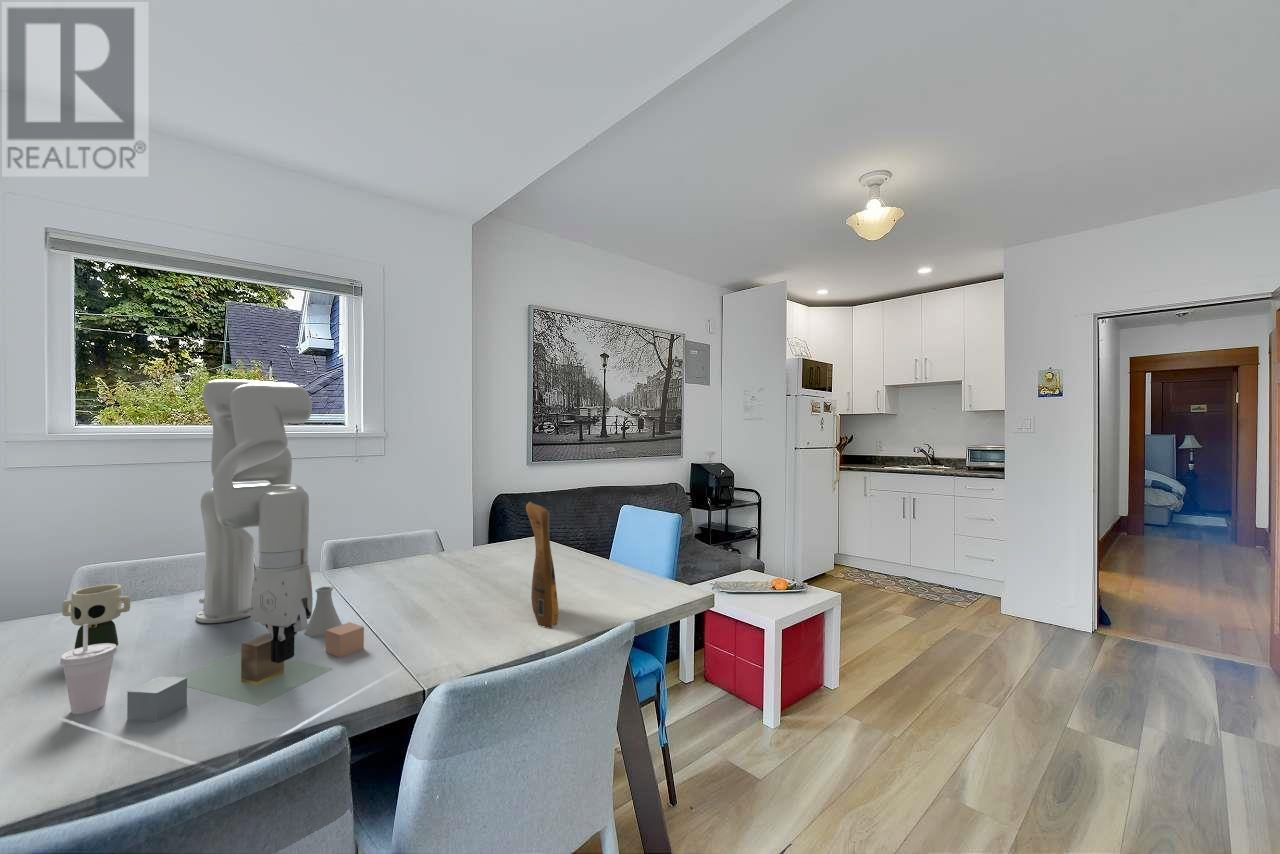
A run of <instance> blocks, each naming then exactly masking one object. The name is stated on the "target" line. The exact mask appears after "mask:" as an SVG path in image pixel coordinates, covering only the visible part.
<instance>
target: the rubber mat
mask: <svg viewBox="0 0 1280 854" xmlns="http://www.w3.org/2000/svg"><path fill="white" fill-rule="evenodd" d="M332 670H333V668H331V667H326V666H322V665H318V664H314V663H309V662H303V661H299V660H295V659H292V658H290V659H288V660H285V661H284V673H283V674H281V675H278V676H276V677H274V678H272V679H270V680H268V681H265V682H263V683H261V684H259V685H253V684H249V683H245V682H241V651H237V652H235V653H232V654H231V655H228V656H225V657H223V658H221V659H218V660H216V661H212V662H210V663H207V664H204V665H201V666H200V667H196V668H194V669H192V670H190V671H186V672H184V673H181V674H179V675H176V676H175V677H182V678H187V688H190V689H193V690H199V691H202V692H205V693H210V694H213V695H217V696H220V697H224V698H228V699H230V700H231V699H232V700H235V701H239V702H243V703H247V704H251V705H254V706H258V707H259V706H261V705H263V704H265V703H267V702H269V701H271V700H273V699H275V698H277V697H280V696H281V695H283V694H285V693H287V692H289V691H291V690H293V689H296V688H299V687H300V686H301V685H304V684H306V683H307V682H310V681H312V680H314V679H316V678H319V676H322V675H323V674H325V673H328V672H330V671H332Z"/></svg>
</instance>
